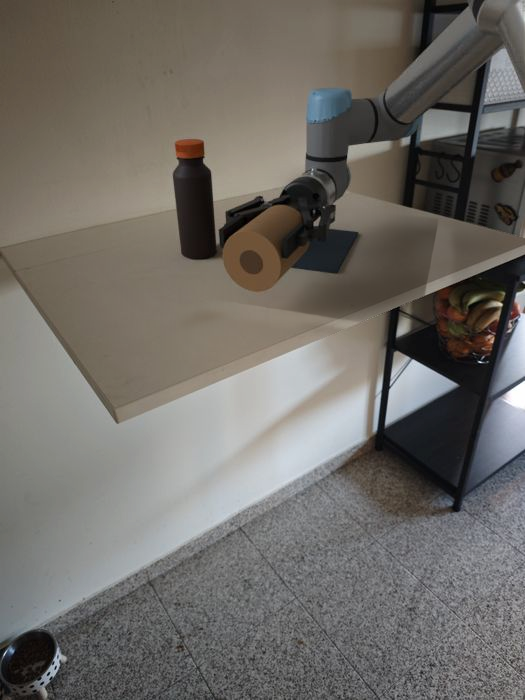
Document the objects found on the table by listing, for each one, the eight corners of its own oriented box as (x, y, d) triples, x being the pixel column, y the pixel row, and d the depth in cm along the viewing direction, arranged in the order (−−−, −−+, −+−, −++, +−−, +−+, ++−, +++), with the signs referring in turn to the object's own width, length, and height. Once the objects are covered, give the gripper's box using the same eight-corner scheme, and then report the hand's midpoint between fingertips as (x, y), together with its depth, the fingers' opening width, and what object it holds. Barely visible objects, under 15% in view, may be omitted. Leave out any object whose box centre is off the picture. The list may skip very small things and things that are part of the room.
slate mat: (358, 234, 102) (358, 231, 102) (336, 273, 87) (337, 271, 86) (266, 224, 108) (266, 221, 108) (231, 259, 92) (230, 257, 92)
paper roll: (256, 253, 82) (258, 199, 77) (307, 265, 79) (313, 210, 74) (222, 283, 73) (222, 225, 68) (278, 298, 70) (283, 238, 65)
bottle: (191, 263, 91) (179, 147, 80) (175, 251, 96) (162, 140, 85) (223, 254, 94) (216, 142, 83) (206, 243, 99) (198, 136, 88)
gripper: (249, 170, 87) (182, 208, 70) (372, 181, 80) (329, 227, 62) (251, 212, 91) (187, 258, 74) (367, 227, 84) (326, 281, 67)
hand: (252, 243), depth 68 cm, fingers closed on paper roll, 9 cm apart
